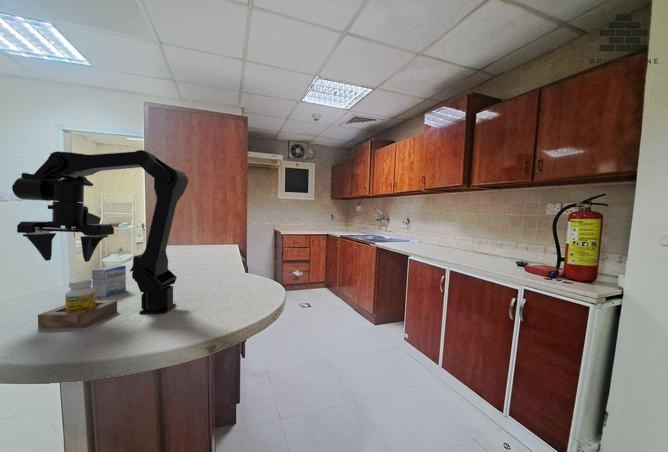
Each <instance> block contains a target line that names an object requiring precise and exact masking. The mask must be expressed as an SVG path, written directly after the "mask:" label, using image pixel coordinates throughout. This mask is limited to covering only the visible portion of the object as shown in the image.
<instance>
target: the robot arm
mask: <svg viewBox="0 0 668 452" xmlns="http://www.w3.org/2000/svg"><path fill="white" fill-rule="evenodd" d="M137 168H138V169H139V168H142V170H144V171H145V172H146V173H147V174H148V175H150V176H151V177H152V178H154V179H153V189H154V192H155V196H156V202H155V205H154V210H153V214H152V215H153V216H152V218H151V223H150V227H149V232H148V237H147V241H146V244H145V249H144V251H143V253H142V254H138V255H135V256H134V257H133V259H132V266H131V268H130V270H129V272H132V273H131V278H132V280H134V281H135V283H136V284H137V288H138V289H139V292H140V293H141V295H140V296H141V310H140V311H139V312H138V313H139V314H142V315H143V314H146V315H147V314H165V313H167V312H170V311H171V309H173V308H174V307H176V305H177V303H174V284H176V281H177V278H178V277H177V276H176V275H175V274H174V273H173V272H172V271H171V270H170V269H169V258H168V255H167V246H168V242H169V238H170V234H171V229H172V225H173V220H174V217H175V212H176V209H177V208H176V206H177V203H178V202H179V200H181V198H182V196H183V195H184V193H185V191H186V189H187V186H188V184H189V179H188V176H187V175H186V173H184V172H183V171H182V170H178V169H175V168H173V167H172V166H170V165H168V164H167V163H165V162H163V161H162V160H161V159H159V158H158V157H157V156H156V155H155V154H153V153H151V152H149V151H146V150H144V149H138V150H133V151H123V152H122V151H120V152H108V153H94V154H84V153H78V152H71V151H69V152H68V151H59V150H58V151H52V152H51V153H50V155H49V156H48V157H47V159H46V160H45V161H44V163H43V164H42V165H40V167H39V168H37V170H36V171H35V173H28V172H22V173H21V177H19V178H17V179H16V180H15V181H14V182H13V184H12V186H11V189H12V192H13V194H14V195H15V196H16V198H18V199H20V200H26V201H27V200H28V201H29V200H30V201H45V202H51V201H52V204H47V209H48V210H52V220H48V221H45V220H44V221H43V220H36V221H35V220H32V221H20V222H19V223H18V224H17V226H16V232H17V233H16V234H19V233H20V234H22V236H23V237H26V238H27V239H28V240H29V241H30V243H31V244H32V245H33V246H34V247H35V248H36V250H37V251H38V253H39V254H40V255H41V257H42V258H43V259H44V261H45V262H46V261H47V262H48V261H51V259H52V254H53V240H54V238H55V236H56V235H57V233H56V232H61V233H62V232H63V233H69V232H70V233H82V234H83V235H84V236H80V241H81V248H82V257H83V260H84V262H85V263H87V262H90V261H91V258H92V256H93V254H94V252H95V250H96V249H97V246H98V245H99V243H100V242H101V241H102V240H104V239H105V238H108V237H109V236H111V235H114V234H115V228H114V227H113V225H112V224H111V223H110V224H109V223H100V222H101V220H102V218H101V217H100V216H97V215H95V214H93V213H89V208H88V206H85V205H84V201H85V200H84V197H85V187H93V186H94V184H93V182H91V181H90V180H89V179H87V177H89V176H91V175H92V176H93V175H95V174H96V173H98V172H102V171H103V172H104V171H112V170H113V171H114V170H125V169H137Z"/></svg>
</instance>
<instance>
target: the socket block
mask: <svg viewBox="0 0 668 452" xmlns="http://www.w3.org/2000/svg"><path fill="white" fill-rule="evenodd" d="M117 312H118V300H117V299H116V300H110V299H108V300H107V299H106V300H105V299H104V300H101V299H100V300H96V307H94V308H92V309H89V310H87V311H85V312H66V304H64V305H61V306H59V307H55V308H53V309H50V310H47V311H45V312H42V313H39V314H38V315H37V328H38V329H40V328H41V329H50V328H52V329H54V328H55V329H56V328H57V329H58V328H62V329H63V328H87V327H89V326H91V325H93V324H95V323H97V322H99V321H101V320H103V319H105V318H106V317H109V316H110V315H113V314H115V313H117Z"/></svg>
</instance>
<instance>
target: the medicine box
mask: <svg viewBox="0 0 668 452" xmlns="http://www.w3.org/2000/svg"><path fill="white" fill-rule="evenodd" d="M126 266H127V265H122V264H121V265H119V264H116V265H115V264H114V265H110V266H109V265H108V266H104V267H101V268H97V269H92V270H91V280H92V285H91V287H93V288H94V289H95V294H96V298H108V297H110V296H114V295H116V294H119V293H122V292H125V291H126V290H127V286H126V285H127V283H126V282H127V270H126V269H127V267H126Z"/></svg>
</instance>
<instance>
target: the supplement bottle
mask: <svg viewBox="0 0 668 452" xmlns="http://www.w3.org/2000/svg"><path fill="white" fill-rule="evenodd" d="M68 288H69V290H67V291H66V292H65V294H64V295H65V305H66V312H85V311H87V310H89V309H92V308H94V307H96V298H97V297H96V294H95V289H94V288H93V287H92V279H89V278H87V279H86V278H85V279H77V280H72V281H69V282H68Z"/></svg>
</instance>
